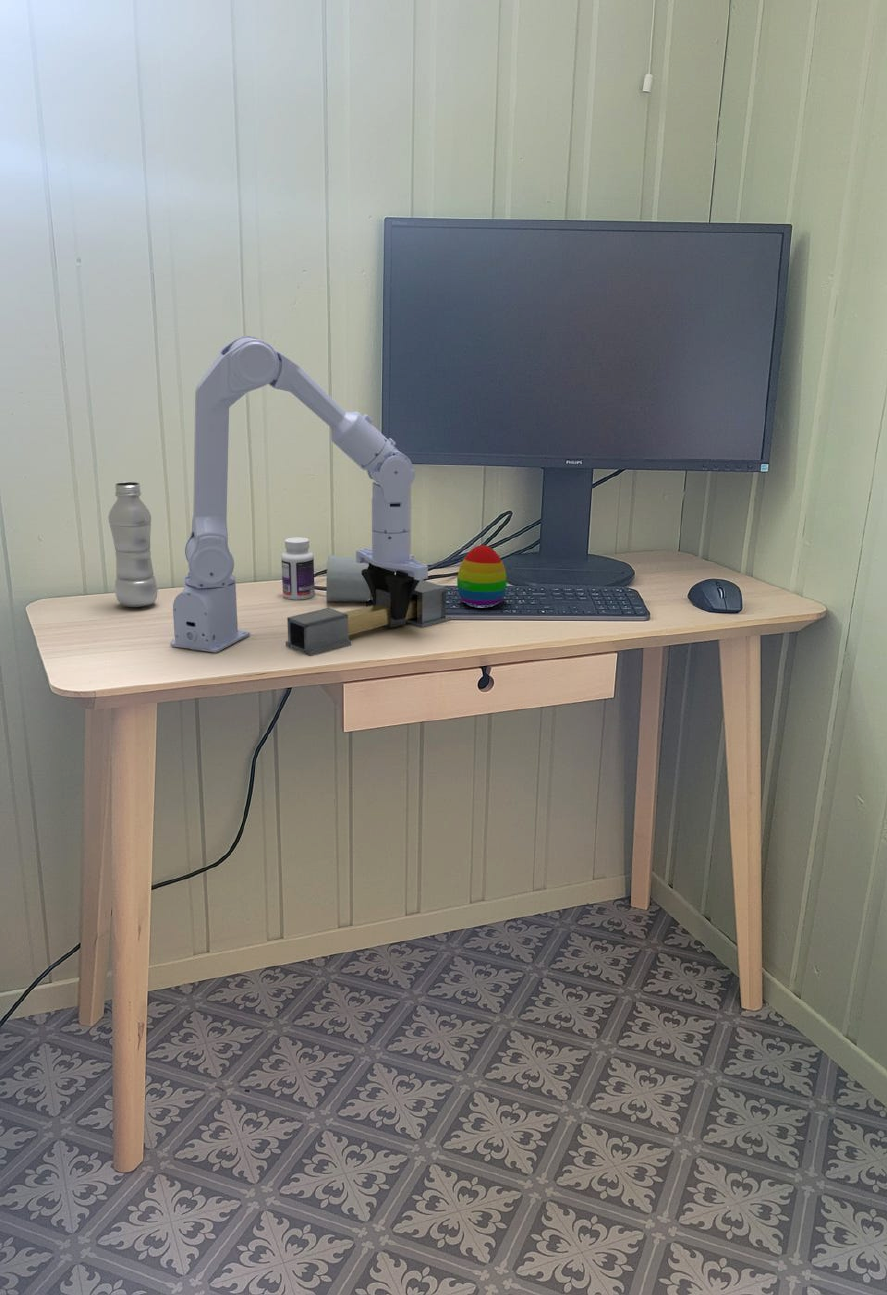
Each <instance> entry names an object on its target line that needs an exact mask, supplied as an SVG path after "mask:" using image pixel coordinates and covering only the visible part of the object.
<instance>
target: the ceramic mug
mask: <svg viewBox="0 0 887 1295" xmlns="http://www.w3.org/2000/svg"><path fill="white" fill-rule="evenodd" d="M326 563H327V565H326V583H325V584H326V587H325V588H326V590H325V591H326V592H325V593H326V595H325V598H326V601H327V602H329V603H330V602H332V603H333V602H334V603H335V602H339V603H341V602H343V603H348V602H349V603H350V602H353V603H355V602H356V603H366V602H368V601H367V599H369V598H372V595H371V592H370V589H369V587H368V585H367V583H366V581H365V579H364V577H363V576H362V570H363V569H368V567H369V564H367V563H357V562H356V557H352V556H341V555H331V554H330V555H328V557H327V562H326Z"/></svg>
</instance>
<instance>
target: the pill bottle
mask: <svg viewBox="0 0 887 1295" xmlns="http://www.w3.org/2000/svg"><path fill="white" fill-rule="evenodd" d="M284 548H285V550H286V551H285V552H282V554H281V580H282V582H281V583H282V584H281V585H282V596H283V597H284V598H285V599H289V600H295V601H296V600H297V601H298V600H299V601H300V600H309V599H311V598H313V597H314V596H315V593H316V592H315V591H316V590H315V589H316V587H315V585H316V584H315V561H314V558H315V557H314V554H313V553H312V551H309V549H310V539H309V538H307V537H301V536H300V537H290V538H289V537H288V538H286V539H285V540H284Z"/></svg>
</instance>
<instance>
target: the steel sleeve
mask: <svg viewBox="0 0 887 1295" xmlns="http://www.w3.org/2000/svg"><path fill="white" fill-rule="evenodd" d="M286 620H287V641H285V642H284V643H285V647H288V648H290V649H293V650H296V651H298V652H300V653H302V654H305V655H307V656H310V657H311V656H312V657H313V656H314V655H319V654H322V653H326V652H330V651H333V650H338V649H341V648H345V647H349V646H352V640H350V639H349V635H348V614H345V613H343V611H342V612H341V611H338V610H337V609H333V608H330V607H326V608H322V609H318V610H313V611H309V612H304V613H301V614H297V615H293V616H292V615H291V616H288V617H287V618H286Z"/></svg>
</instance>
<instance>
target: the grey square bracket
mask: <svg viewBox="0 0 887 1295" xmlns="http://www.w3.org/2000/svg"><path fill="white" fill-rule="evenodd" d="M414 595H417V617H414V618H411V619H407V620H405V623H408V624H410V625H413V626H417V627H419V628H426V627H430V626H433V625H436V624H441V623H444V622H448V621H451V616H449V615H446V614H447V613H446V612H447V608H446V607H447V586H444V585H440V584H437V583H434V582H431V581H427V580H425V579H422V580H420V581H419V583H418V585H417V586H416V588H415V590H414V592H413V595H412V596H414Z"/></svg>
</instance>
